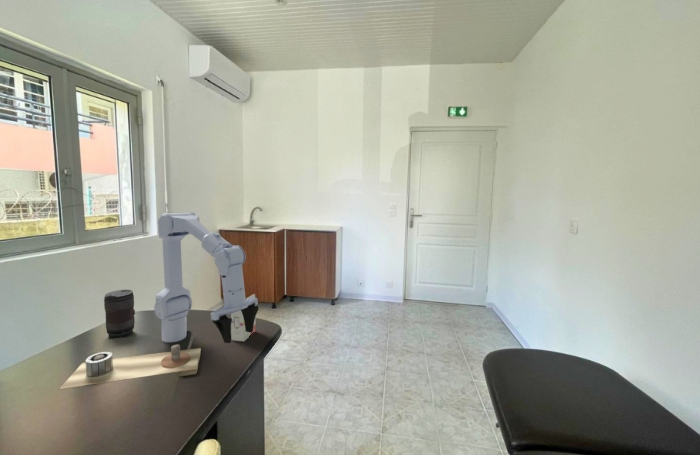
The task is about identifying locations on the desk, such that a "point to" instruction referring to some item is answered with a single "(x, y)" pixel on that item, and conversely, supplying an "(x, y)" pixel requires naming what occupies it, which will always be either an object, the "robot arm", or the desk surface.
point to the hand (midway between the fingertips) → (239, 336)
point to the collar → (99, 365)
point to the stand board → (140, 367)
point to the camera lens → (119, 313)
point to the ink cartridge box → (240, 326)
